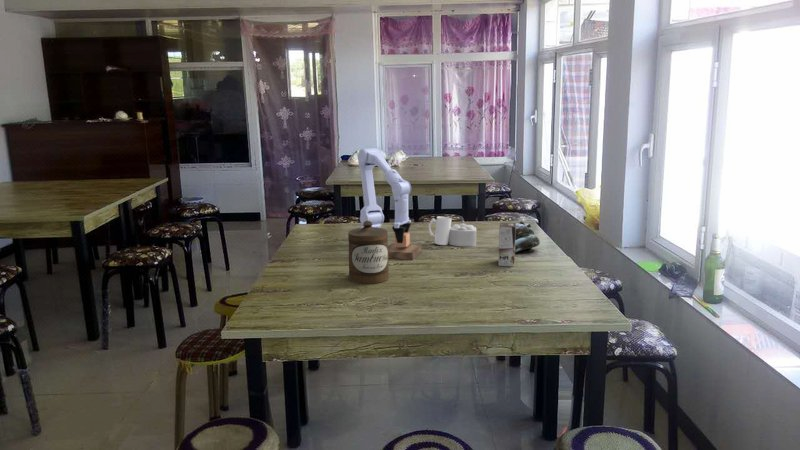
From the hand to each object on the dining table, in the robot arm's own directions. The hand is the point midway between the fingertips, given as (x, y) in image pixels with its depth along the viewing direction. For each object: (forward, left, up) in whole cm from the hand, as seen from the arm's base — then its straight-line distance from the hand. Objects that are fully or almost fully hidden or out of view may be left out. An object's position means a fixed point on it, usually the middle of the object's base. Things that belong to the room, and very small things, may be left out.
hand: (401, 241), depth 274 cm
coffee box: (+45, -1, -6) cm, 45 cm away
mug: (+10, +23, -6) cm, 25 cm away
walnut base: (0, 0, -6) cm, 6 cm away
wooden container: (-1, -37, -6) cm, 38 cm away
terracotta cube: (0, 0, -2) cm, 2 cm away
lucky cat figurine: (+47, +22, -6) cm, 52 cm away
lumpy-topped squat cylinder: (+20, +27, -6) cm, 34 cm away
